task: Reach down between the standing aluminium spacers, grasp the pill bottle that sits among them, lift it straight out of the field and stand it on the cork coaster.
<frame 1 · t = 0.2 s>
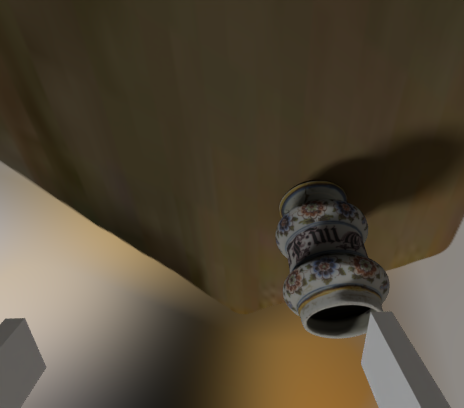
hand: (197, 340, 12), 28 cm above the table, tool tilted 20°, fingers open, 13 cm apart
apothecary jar: (312, 204, 45), on the table
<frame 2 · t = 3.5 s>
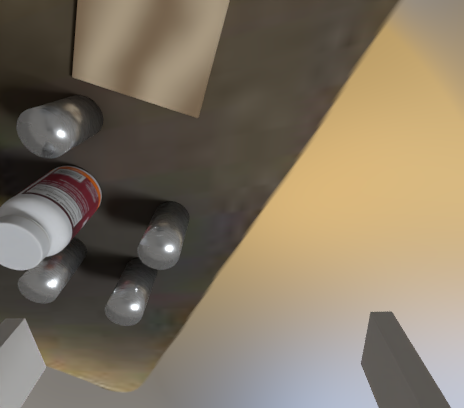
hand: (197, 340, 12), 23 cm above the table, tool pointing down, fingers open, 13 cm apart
grey cylinder: (141, 270, 39), on the table
coaster: (150, 29, 27), on the table
pill bottle: (76, 189, 34), on the table
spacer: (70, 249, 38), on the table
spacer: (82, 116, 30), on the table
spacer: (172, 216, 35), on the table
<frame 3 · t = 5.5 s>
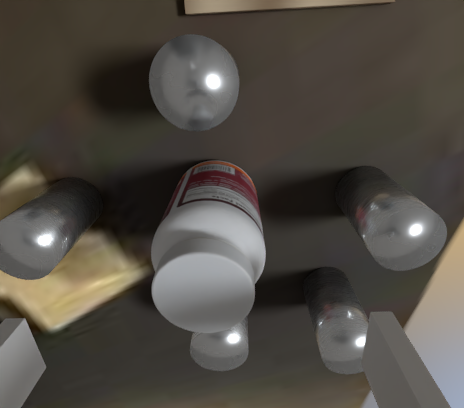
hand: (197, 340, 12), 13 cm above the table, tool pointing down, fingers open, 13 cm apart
grey cylinder: (325, 285, 27), on the table
pill bottle: (217, 195, 24), on the table
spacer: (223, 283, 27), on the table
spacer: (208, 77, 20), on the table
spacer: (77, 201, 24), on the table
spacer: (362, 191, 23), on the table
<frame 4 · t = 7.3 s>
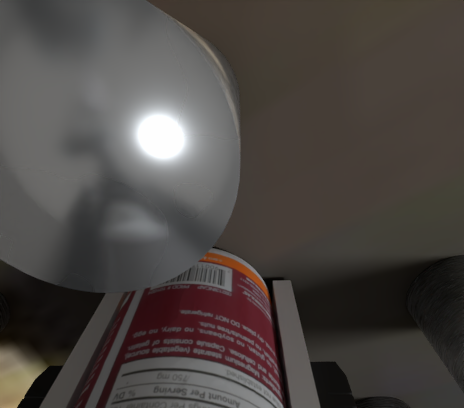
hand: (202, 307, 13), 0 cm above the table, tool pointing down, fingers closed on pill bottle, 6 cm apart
pill bottle: (203, 295, 14), on the table, touching gripper
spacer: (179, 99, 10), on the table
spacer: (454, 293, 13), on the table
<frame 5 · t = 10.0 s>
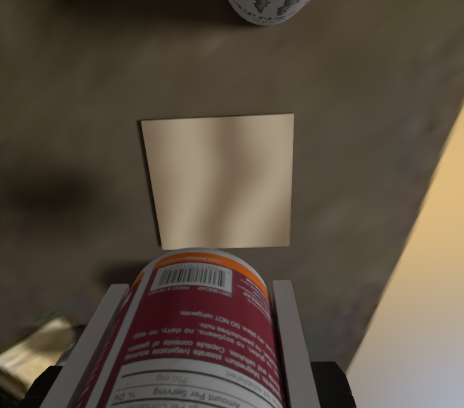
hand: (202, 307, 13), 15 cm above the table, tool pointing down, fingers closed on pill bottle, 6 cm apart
coaster: (221, 186, 27), on the table
pill bottle: (203, 296, 14), point 14 cm above the table, touching gripper
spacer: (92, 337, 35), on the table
when the fingers open (2 cm above the table, at t = 12.6 s): pill bottle drops 1 cm, resting on coaster.
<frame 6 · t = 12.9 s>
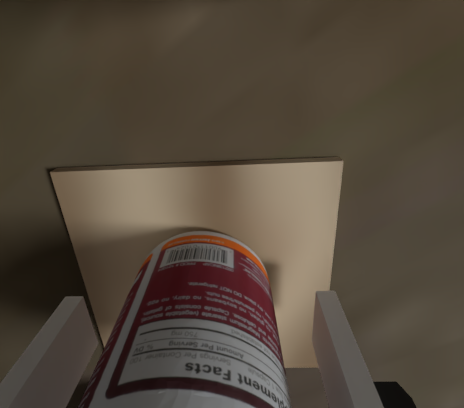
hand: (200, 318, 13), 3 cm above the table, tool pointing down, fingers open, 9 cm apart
coaster: (207, 276, 15), on the table
pill bottle: (206, 278, 15), resting on coaster
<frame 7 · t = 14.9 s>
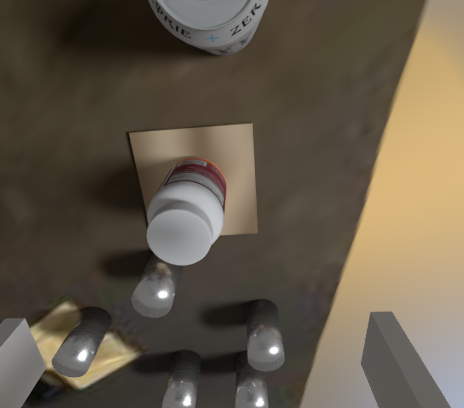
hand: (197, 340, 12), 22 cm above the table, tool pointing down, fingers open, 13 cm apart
energy drink can: (223, 16, 26), on the table
grey cylinder: (250, 360, 43), on the table
coaster: (198, 184, 32), on the table
pill bottle: (197, 183, 32), resting on coaster
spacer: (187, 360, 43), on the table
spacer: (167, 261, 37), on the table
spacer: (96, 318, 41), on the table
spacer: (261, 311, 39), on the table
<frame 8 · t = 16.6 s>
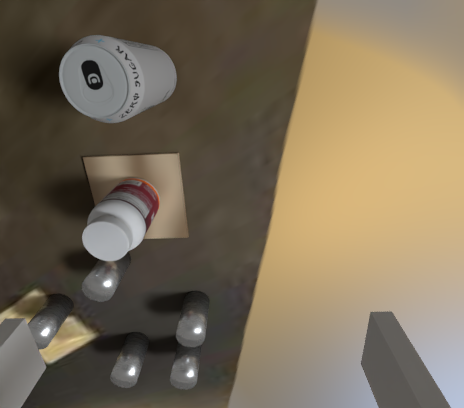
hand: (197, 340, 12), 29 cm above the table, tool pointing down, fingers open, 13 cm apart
energy drink can: (152, 75, 35), on the table
grey cylinder: (190, 341, 52), on the table
coaster: (139, 197, 41), on the table
pill bottle: (138, 197, 40), resting on coaster
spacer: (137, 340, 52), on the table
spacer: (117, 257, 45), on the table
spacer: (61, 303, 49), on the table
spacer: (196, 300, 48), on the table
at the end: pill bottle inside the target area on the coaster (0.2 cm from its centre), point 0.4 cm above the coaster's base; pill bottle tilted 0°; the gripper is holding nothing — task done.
